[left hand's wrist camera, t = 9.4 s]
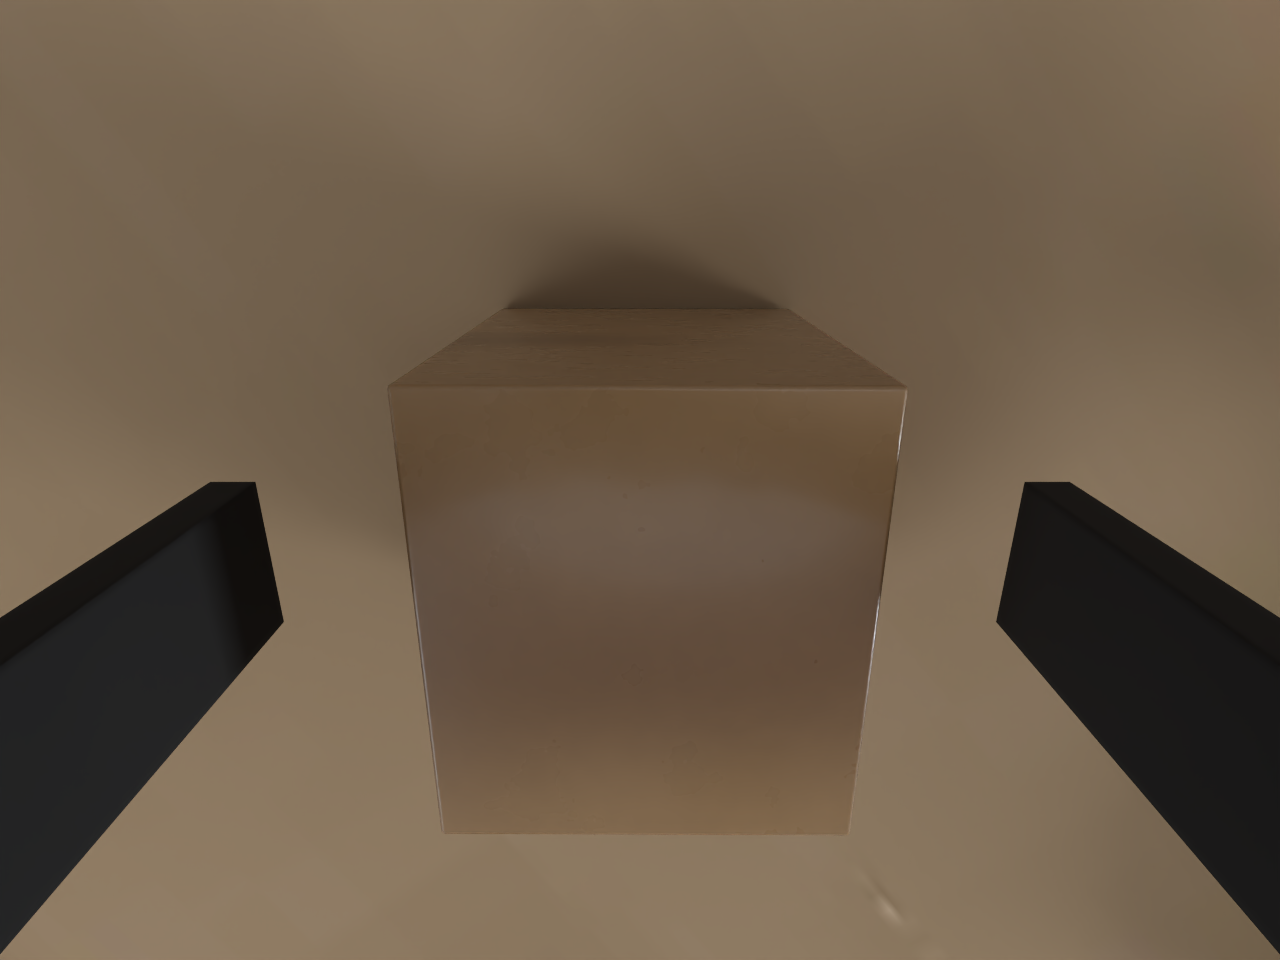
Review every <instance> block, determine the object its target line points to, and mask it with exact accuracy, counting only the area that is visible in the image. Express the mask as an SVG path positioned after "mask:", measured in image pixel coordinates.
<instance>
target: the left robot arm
mask: <svg viewBox="0 0 1280 960" xmlns="http://www.w3.org/2000/svg"><path fill="white" fill-rule="evenodd" d="M283 622H284V621H283V616H282V611H281V606H280V601H279V596H278V591H277V586H276V581H275V576H274V571H273V567H272V562H271V557H270V552H269V547H268V542H267V537H266V532H265V527H264V522H263V518H262V513H261V508H260V503H259V498H258V493H257V488H256V483H255V482H210V483H208V484H207V485H205V486H203V487H202V488H200V489H199V490H197V491H196V492H194V493H193V494H191V495H189V496H188V497H186V498H185V499H183V500H182V501H180V502H179V503H177V504H176V505H174V506H172V507H171V508H169V509H168V510H166V511H165V512H163V513H162V514H160V515H159V516H157V517H155V518H154V519H152V520H151V521H149V522H148V523H146V524H145V525H143V526H142V527H140V528H138V529H137V530H135V531H134V532H132V533H131V534H129V535H128V536H126V537H125V538H123V539H121V540H120V541H118V542H117V543H115V544H114V545H112V546H111V547H109V548H107V549H106V550H104V551H103V552H101V553H100V554H98V555H97V556H95V557H94V558H92V559H90V560H89V561H87V562H86V563H84V564H83V565H81V566H80V567H78V568H77V569H75V570H73V571H72V572H70V573H69V574H67V575H66V576H64V577H63V578H61V579H60V580H58V581H56V582H55V583H53V584H52V585H50V586H49V587H47V588H46V589H44V590H43V591H41V592H39V593H38V594H36V595H35V596H33V597H32V598H30V599H29V600H27V601H25V602H24V603H22V604H21V605H19V606H18V607H16V608H15V609H13V610H12V611H10V612H8V613H7V614H5V615H4V616H2V617H1V618H0V954H1V953H2V951H3V950H4V949H5V948H6V947H7V946H8V944H9V943H10V942H11V941H12V940H13V939H14V937H15V936H16V935H17V934H18V933H19V932H20V930H21V929H22V928H23V927H24V926H25V924H26V923H27V922H28V921H29V920H30V919H31V917H32V916H33V915H34V914H35V913H36V912H37V910H38V909H39V908H40V907H41V906H42V905H43V903H44V902H45V901H46V900H47V899H48V898H49V896H50V895H51V894H52V893H53V892H54V890H55V889H56V888H57V887H58V886H59V885H60V883H61V882H62V881H63V880H64V879H65V878H66V876H67V875H68V874H69V873H70V872H71V871H72V869H73V868H74V867H75V866H76V865H77V864H78V862H79V861H80V860H81V859H82V858H83V857H84V855H85V854H86V853H87V852H88V851H89V849H90V848H91V847H92V846H93V845H94V844H95V842H96V841H97V840H98V839H99V838H100V837H101V835H102V834H103V833H104V832H105V831H106V830H107V828H108V827H109V826H110V825H111V824H112V823H113V821H114V820H115V819H116V818H117V817H118V815H119V814H120V813H121V812H122V811H123V810H124V808H125V807H126V806H127V805H128V804H129V803H130V801H131V800H132V799H133V798H134V797H135V796H136V794H137V793H138V792H139V791H140V790H141V789H142V787H143V786H144V785H145V784H146V783H147V781H148V780H149V779H150V778H151V777H152V776H153V774H154V773H155V772H156V771H157V770H158V769H159V767H160V766H161V765H162V764H163V763H164V762H165V760H166V759H167V758H168V757H169V756H170V755H171V753H172V752H173V751H174V750H175V749H176V748H177V746H178V745H179V744H180V743H181V742H182V740H183V739H184V738H185V737H186V736H187V735H188V733H189V732H190V731H191V730H192V729H193V728H194V726H195V725H196V724H197V723H198V722H199V721H200V719H201V718H202V717H203V716H204V715H205V714H206V712H207V711H208V710H209V709H210V708H211V706H212V705H213V704H214V703H215V702H216V701H217V699H218V698H219V697H220V696H221V695H222V694H223V692H224V691H225V690H226V689H227V688H228V687H229V685H230V684H231V683H232V682H233V681H234V680H235V678H236V677H237V676H238V675H239V674H240V673H241V671H242V670H243V669H244V668H245V667H246V665H247V664H248V663H249V662H250V661H251V660H252V658H253V657H254V656H255V655H256V654H257V653H258V651H259V650H260V649H261V648H262V647H263V646H264V644H265V643H266V642H267V641H268V640H269V639H270V637H271V636H272V635H273V634H274V633H275V631H276V630H277V629H278V628H279V627H280V626H281V624H282V623H283ZM996 622H997V623H998V624H999V626H1000V627H1001V628H1002V629H1003V630H1004V631H1005V633H1006V634H1007V635H1008V636H1009V637H1010V639H1011V640H1012V641H1013V642H1014V643H1015V644H1016V646H1017V647H1018V648H1019V649H1020V650H1021V651H1022V653H1023V654H1024V655H1025V656H1026V657H1027V658H1028V660H1029V661H1030V662H1031V663H1032V664H1033V665H1034V667H1035V668H1036V669H1037V670H1038V671H1039V673H1040V674H1041V675H1042V676H1043V677H1044V678H1045V680H1046V681H1047V682H1048V683H1049V684H1050V685H1051V687H1052V688H1053V689H1054V690H1055V691H1056V692H1057V694H1058V695H1059V696H1060V697H1061V698H1062V699H1063V701H1064V702H1065V703H1066V704H1067V705H1068V706H1069V708H1070V709H1071V710H1072V711H1073V712H1074V714H1075V715H1076V716H1077V717H1078V718H1079V719H1080V721H1081V722H1082V723H1083V724H1084V725H1085V726H1086V728H1087V729H1088V730H1089V731H1090V732H1091V733H1092V735H1093V736H1094V737H1095V738H1096V739H1097V740H1098V742H1099V743H1100V744H1101V745H1102V746H1103V748H1104V749H1105V750H1106V751H1107V752H1108V753H1109V755H1110V756H1111V757H1112V758H1113V759H1114V760H1115V762H1116V763H1117V764H1118V765H1119V766H1120V767H1121V769H1122V770H1123V771H1124V772H1125V773H1126V774H1127V776H1128V777H1129V778H1130V779H1131V780H1132V782H1133V783H1134V784H1135V785H1136V786H1137V787H1138V789H1139V790H1140V791H1141V792H1142V793H1143V794H1144V796H1145V797H1146V798H1147V799H1148V800H1149V801H1150V803H1151V804H1152V805H1153V806H1154V807H1155V808H1156V810H1157V811H1158V812H1159V813H1160V814H1161V815H1162V817H1163V818H1164V819H1165V820H1166V821H1167V823H1168V824H1169V825H1170V826H1171V827H1172V828H1173V830H1174V831H1175V832H1176V833H1177V834H1178V835H1179V837H1180V838H1181V839H1182V840H1183V841H1184V842H1185V844H1186V845H1187V846H1188V847H1189V848H1190V849H1191V851H1192V852H1193V853H1194V854H1195V855H1196V857H1197V858H1198V859H1199V860H1200V861H1201V862H1202V864H1203V865H1204V866H1205V867H1206V868H1207V869H1208V871H1209V872H1210V873H1211V874H1212V875H1213V876H1214V878H1215V879H1216V880H1217V881H1218V882H1219V883H1220V885H1221V886H1222V887H1223V888H1224V889H1225V890H1226V892H1227V893H1228V894H1229V895H1230V896H1231V898H1232V899H1233V900H1234V901H1235V902H1236V903H1237V905H1238V906H1239V907H1240V908H1241V909H1242V910H1243V912H1244V913H1245V914H1246V915H1247V916H1248V917H1249V919H1250V920H1251V921H1252V922H1253V923H1254V924H1255V926H1256V927H1257V928H1258V929H1259V930H1260V932H1261V933H1262V934H1263V935H1264V936H1265V937H1266V939H1267V940H1268V941H1269V942H1270V943H1271V944H1272V946H1273V947H1274V948H1275V949H1276V950H1277V951H1278V953H1279V954H1280V618H1279V617H1278V616H1276V615H1275V614H1273V613H1272V612H1270V611H1268V610H1267V609H1265V608H1264V607H1262V606H1261V605H1259V604H1258V603H1256V602H1255V601H1253V600H1251V599H1250V598H1248V597H1247V596H1245V595H1244V594H1242V593H1241V592H1239V591H1237V590H1236V589H1234V588H1233V587H1231V586H1230V585H1228V584H1227V583H1225V582H1224V581H1222V580H1220V579H1219V578H1217V577H1216V576H1214V575H1213V574H1211V573H1210V572H1208V571H1207V570H1205V569H1203V568H1202V567H1200V566H1199V565H1197V564H1196V563H1194V562H1193V561H1191V560H1190V559H1188V558H1186V557H1185V556H1183V555H1182V554H1180V553H1179V552H1177V551H1176V550H1174V549H1173V548H1171V547H1169V546H1168V545H1166V544H1165V543H1163V542H1162V541H1160V540H1159V539H1157V538H1155V537H1154V536H1152V535H1151V534H1149V533H1148V532H1146V531H1145V530H1143V529H1142V528H1140V527H1138V526H1137V525H1135V524H1134V523H1132V522H1131V521H1129V520H1128V519H1126V518H1125V517H1123V516H1121V515H1120V514H1118V513H1117V512H1115V511H1114V510H1112V509H1111V508H1109V507H1108V506H1106V505H1104V504H1103V503H1101V502H1100V501H1098V500H1097V499H1095V498H1094V497H1092V496H1091V495H1089V494H1087V493H1086V492H1084V491H1083V490H1081V489H1080V488H1078V487H1077V486H1075V485H1073V484H1072V483H1070V482H1025V483H1024V488H1023V493H1022V498H1021V503H1020V508H1019V513H1018V517H1017V522H1016V527H1015V532H1014V537H1013V542H1012V547H1011V552H1010V557H1009V562H1008V567H1007V571H1006V576H1005V581H1004V586H1003V591H1002V596H1001V601H1000V606H999V611H998V616H997V621H996Z"/></svg>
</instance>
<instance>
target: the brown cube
mask: <svg viewBox="0 0 1280 960" xmlns="http://www.w3.org/2000/svg"><path fill="white" fill-rule="evenodd" d="M907 392H908V389H907V386H905V385H904V384H902V383H901V382H899V381H898V380H896V379H894V378H893V377H891V376H890V375H888V374H887V373H885V372H884V371H882V370H881V369H879V368H878V367H876V366H875V365H873V364H872V363H870V362H868V361H867V360H865V359H864V358H862V357H861V356H859V355H858V354H856V353H855V352H853V351H852V350H850V349H849V348H847V347H846V346H844V345H842V344H841V343H839V342H838V341H836V340H835V339H833V338H832V337H830V336H829V335H827V334H826V333H824V332H823V331H821V330H820V329H818V328H816V327H815V326H813V325H812V324H810V323H809V322H807V321H806V320H804V319H803V318H801V317H800V316H798V315H797V314H795V313H793V312H792V311H790V310H789V309H502V310H500V311H499V312H497V313H496V314H494V315H493V316H491V317H490V318H488V319H487V320H485V321H484V322H482V323H481V324H479V325H478V326H476V327H475V328H473V329H472V330H470V331H469V332H468V333H466V334H465V335H463V336H462V337H460V338H459V339H457V340H456V341H454V342H453V343H451V344H450V345H448V346H447V347H445V348H444V349H442V350H441V351H439V352H438V353H436V354H435V355H433V356H432V357H430V358H429V359H427V360H426V361H425V362H423V363H422V364H420V365H419V366H417V367H416V368H414V369H413V370H411V371H410V372H408V373H407V374H405V375H404V376H402V377H401V378H399V379H398V380H396V381H395V382H393V383H392V384H390V385H389V386H388V396H389V404H390V413H391V421H392V429H393V437H394V445H395V454H396V462H397V470H398V478H399V486H400V494H401V503H402V511H403V519H404V527H405V535H406V544H407V552H408V560H409V568H410V576H411V584H412V593H413V601H414V609H415V617H416V625H417V634H418V642H419V650H420V658H421V666H422V674H423V683H424V691H425V699H426V707H427V715H428V724H429V732H430V740H431V748H432V756H433V764H434V773H435V781H436V789H437V797H438V805H439V814H440V822H441V830H442V832H443V833H445V834H658V835H848V834H849V833H850V826H851V818H852V811H853V803H854V795H855V788H856V780H857V772H858V765H859V757H860V750H861V742H862V734H863V727H864V719H865V712H866V704H867V696H868V689H869V681H870V674H871V666H872V658H873V651H874V643H875V636H876V628H877V620H878V613H879V605H880V598H881V590H882V582H883V575H884V567H885V560H886V552H887V544H888V537H889V529H890V522H891V514H892V506H893V499H894V491H895V484H896V476H897V468H898V461H899V453H900V446H901V438H902V430H903V423H904V415H905V408H906V400H907Z"/></svg>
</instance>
